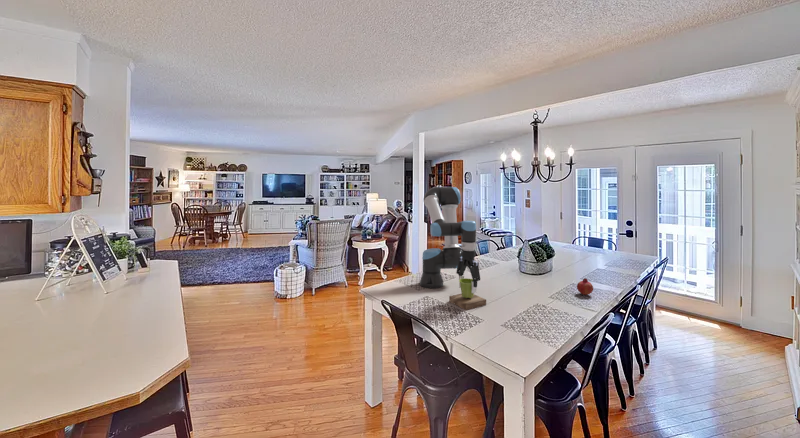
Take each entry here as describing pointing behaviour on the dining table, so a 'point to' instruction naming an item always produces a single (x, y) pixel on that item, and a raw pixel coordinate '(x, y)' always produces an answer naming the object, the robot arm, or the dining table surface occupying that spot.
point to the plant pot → (466, 287)
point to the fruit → (585, 287)
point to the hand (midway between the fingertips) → (467, 289)
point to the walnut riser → (467, 301)
